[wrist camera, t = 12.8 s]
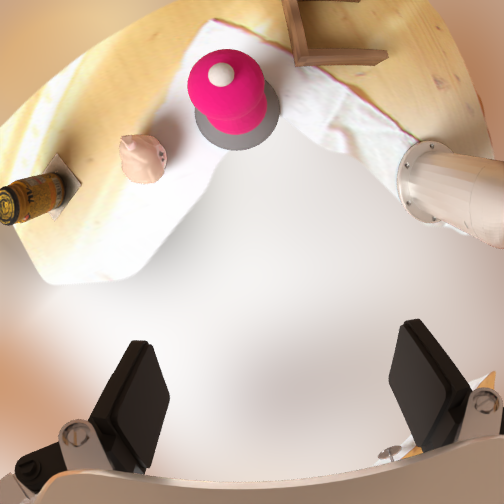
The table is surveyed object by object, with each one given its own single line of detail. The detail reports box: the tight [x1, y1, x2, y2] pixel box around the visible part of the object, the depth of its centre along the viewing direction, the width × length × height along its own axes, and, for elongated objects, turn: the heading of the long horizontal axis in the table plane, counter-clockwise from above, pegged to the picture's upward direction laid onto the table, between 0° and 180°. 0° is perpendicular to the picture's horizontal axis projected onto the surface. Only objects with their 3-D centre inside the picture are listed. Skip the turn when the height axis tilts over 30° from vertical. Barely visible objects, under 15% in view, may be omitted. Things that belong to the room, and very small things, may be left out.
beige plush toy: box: [119, 135, 167, 184], centre depth 35 cm, size 7×6×8 cm
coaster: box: [195, 80, 280, 150], centre depth 36 cm, size 11×11×1 cm
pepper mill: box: [187, 49, 267, 135], centre depth 26 cm, size 7×7×20 cm
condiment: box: [0, 153, 81, 226], centre depth 34 cm, size 7×8×12 cm
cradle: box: [282, 0, 388, 67], centre depth 29 cm, size 12×12×5 cm
